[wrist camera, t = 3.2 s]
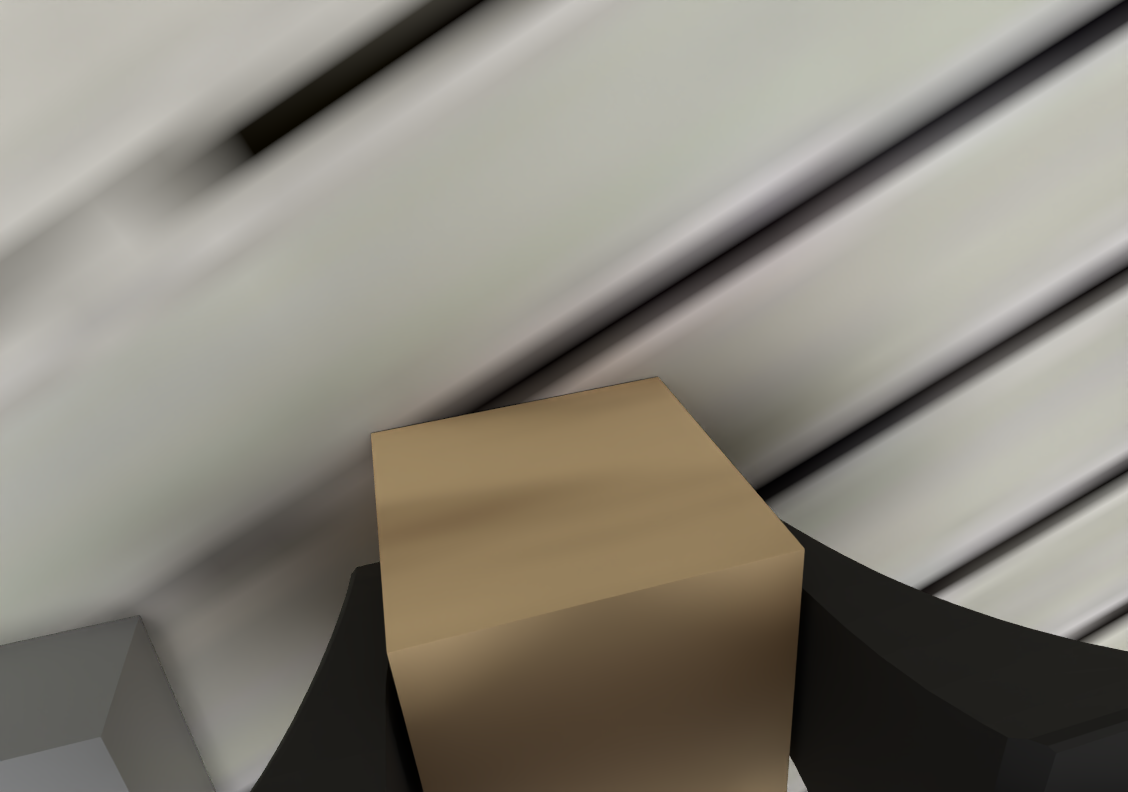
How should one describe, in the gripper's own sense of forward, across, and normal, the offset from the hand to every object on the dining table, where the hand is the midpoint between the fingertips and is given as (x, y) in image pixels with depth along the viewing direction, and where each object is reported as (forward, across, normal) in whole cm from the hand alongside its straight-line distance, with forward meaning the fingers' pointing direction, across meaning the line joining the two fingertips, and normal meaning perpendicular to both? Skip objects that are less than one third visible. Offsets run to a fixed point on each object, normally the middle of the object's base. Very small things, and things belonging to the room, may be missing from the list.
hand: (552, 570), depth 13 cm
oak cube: (+1, 0, 0) cm, 1 cm away
